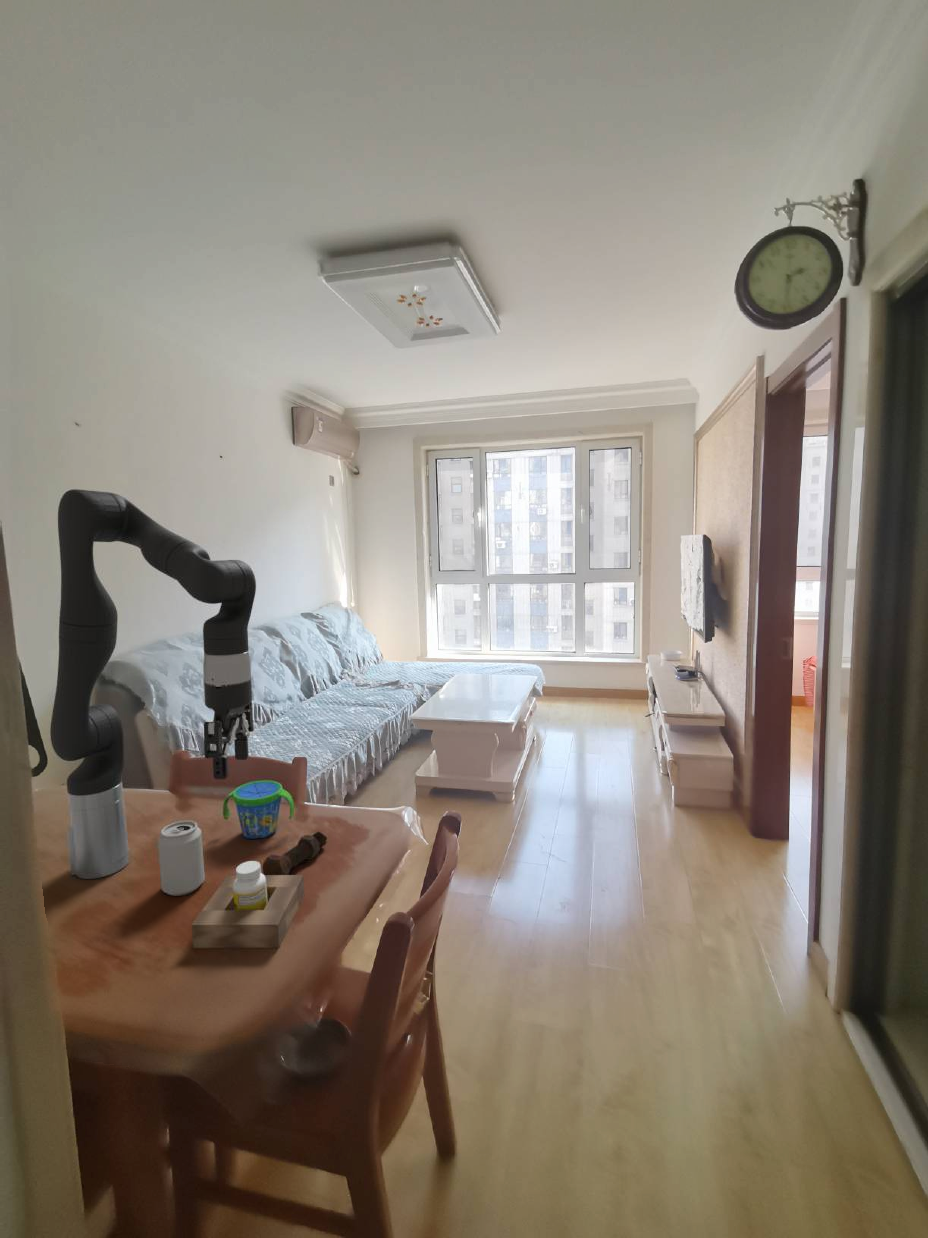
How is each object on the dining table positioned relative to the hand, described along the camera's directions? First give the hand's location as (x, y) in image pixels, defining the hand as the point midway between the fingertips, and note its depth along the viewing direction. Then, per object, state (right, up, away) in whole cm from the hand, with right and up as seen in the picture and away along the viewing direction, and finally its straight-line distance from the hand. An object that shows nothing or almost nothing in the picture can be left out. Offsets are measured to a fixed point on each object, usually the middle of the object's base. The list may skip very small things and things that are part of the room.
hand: (231, 768), depth 101 cm
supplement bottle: (+4, -26, -1) cm, 27 cm away
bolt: (+7, -24, +17) cm, 30 cm away
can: (-13, -25, +10) cm, 30 cm away
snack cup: (-6, -22, +30) cm, 38 cm away
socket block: (+4, -26, -1) cm, 26 cm away
